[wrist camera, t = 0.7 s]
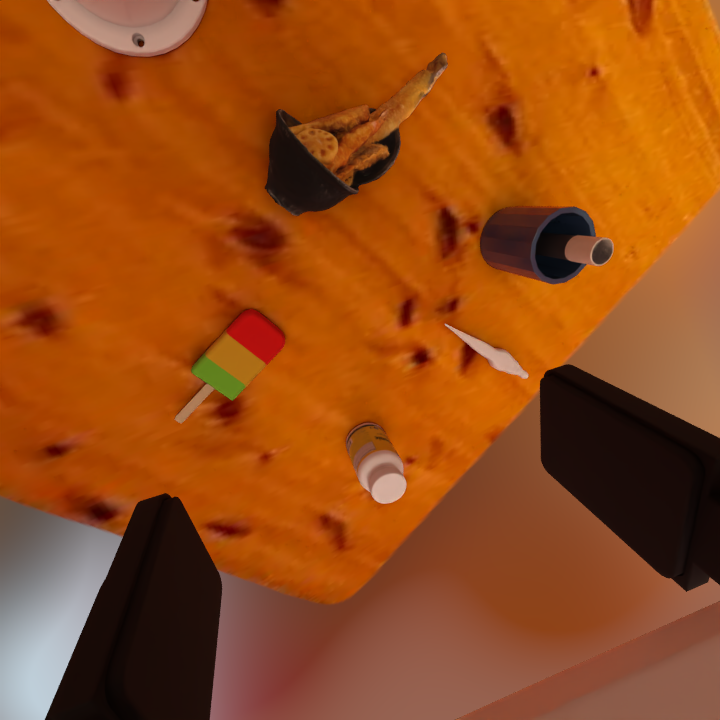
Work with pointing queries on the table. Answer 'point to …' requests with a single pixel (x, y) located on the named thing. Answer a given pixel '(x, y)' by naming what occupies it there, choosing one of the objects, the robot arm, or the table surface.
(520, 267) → the pen cup
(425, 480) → the table surface
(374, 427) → the supplement bottle
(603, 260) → the marker pen
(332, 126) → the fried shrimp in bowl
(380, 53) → the table surface
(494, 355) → the pale pink tapered rod
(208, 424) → the table surface
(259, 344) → the popsicle
